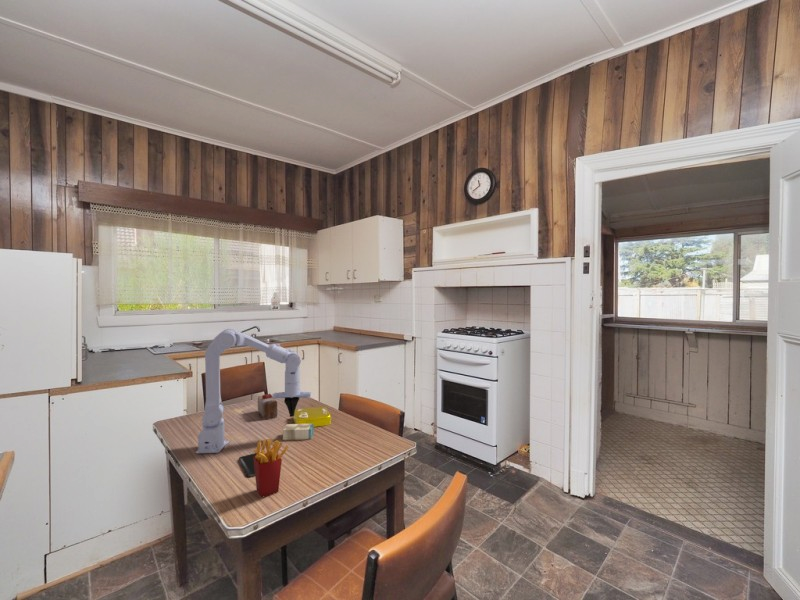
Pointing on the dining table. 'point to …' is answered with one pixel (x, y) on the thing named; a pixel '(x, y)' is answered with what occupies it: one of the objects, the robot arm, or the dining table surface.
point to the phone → (248, 464)
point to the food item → (267, 406)
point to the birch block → (298, 431)
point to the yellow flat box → (313, 416)
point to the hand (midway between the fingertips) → (292, 415)
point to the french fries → (268, 467)
